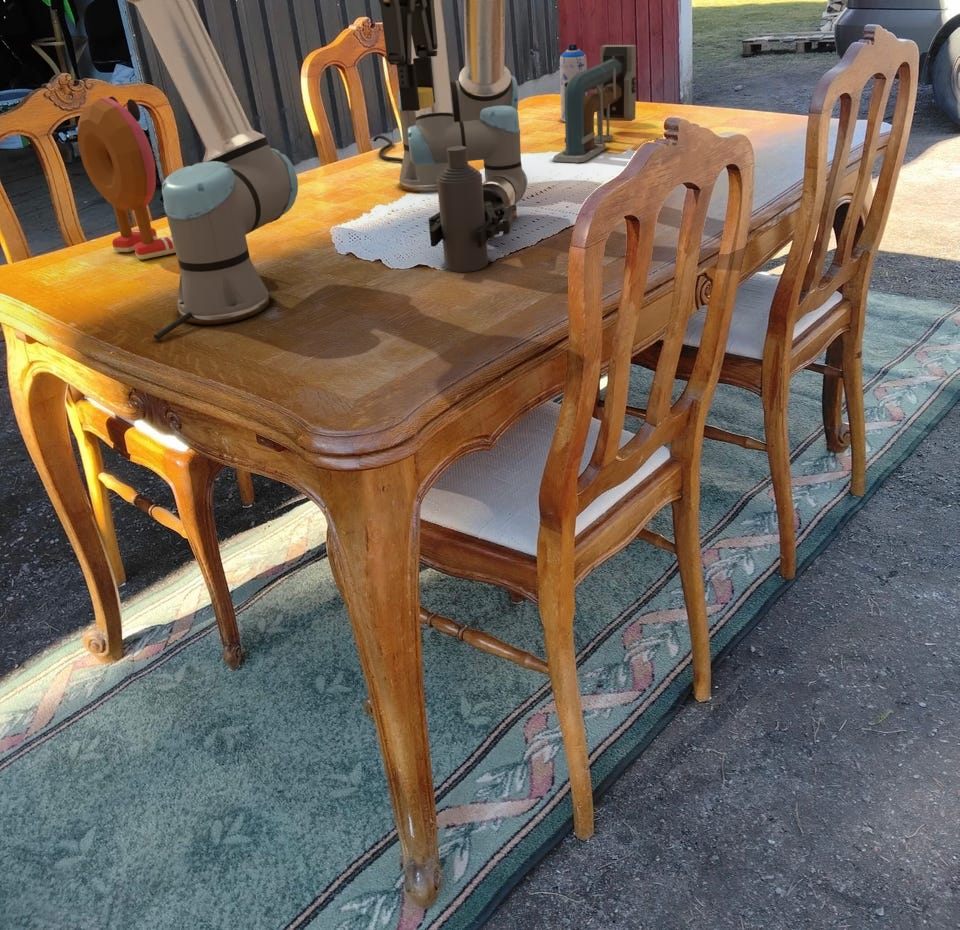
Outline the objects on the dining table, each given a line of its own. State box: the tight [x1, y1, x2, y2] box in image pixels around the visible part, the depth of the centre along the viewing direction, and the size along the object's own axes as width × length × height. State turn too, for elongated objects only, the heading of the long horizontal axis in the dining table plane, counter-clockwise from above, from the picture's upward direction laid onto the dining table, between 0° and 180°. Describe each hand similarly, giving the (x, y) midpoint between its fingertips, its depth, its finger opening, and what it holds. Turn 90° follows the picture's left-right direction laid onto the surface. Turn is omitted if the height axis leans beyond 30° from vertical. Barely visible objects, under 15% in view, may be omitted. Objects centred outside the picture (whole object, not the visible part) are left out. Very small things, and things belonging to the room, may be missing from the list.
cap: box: [418, 87, 434, 109], centre depth 147 cm, size 5×5×2 cm
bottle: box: [437, 146, 489, 273], centre depth 171 cm, size 8×8×21 cm
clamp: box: [552, 44, 637, 164], centre depth 243 cm, size 35×9×21 cm, turn 151°
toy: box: [77, 96, 176, 260], centre depth 191 cm, size 21×10×30 cm, turn 47°
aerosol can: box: [559, 43, 588, 123], centre depth 273 cm, size 8×8×20 cm
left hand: (418, 106), depth 148 cm, fingers closed on cap, 4 cm apart
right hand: (455, 239), depth 170 cm, fingers closed on bottle, 8 cm apart
